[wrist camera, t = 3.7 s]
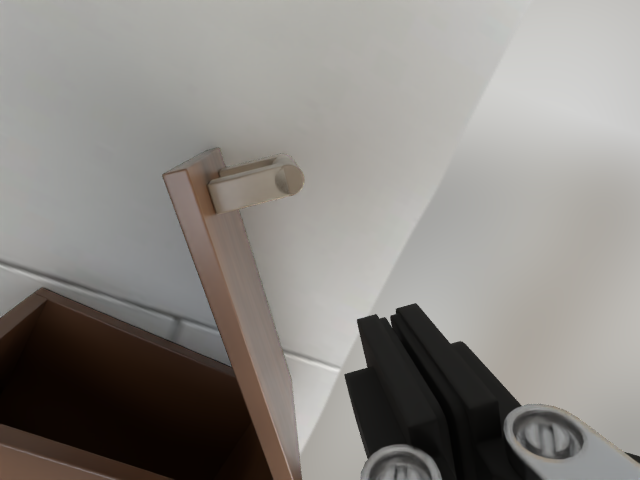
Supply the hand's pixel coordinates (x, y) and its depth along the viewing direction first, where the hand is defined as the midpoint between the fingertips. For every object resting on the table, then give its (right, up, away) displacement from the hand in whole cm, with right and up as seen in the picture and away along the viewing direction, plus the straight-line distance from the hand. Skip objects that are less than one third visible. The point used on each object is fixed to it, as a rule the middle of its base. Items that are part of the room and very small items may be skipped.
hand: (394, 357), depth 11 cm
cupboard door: (-4, +1, +13) cm, 14 cm away
